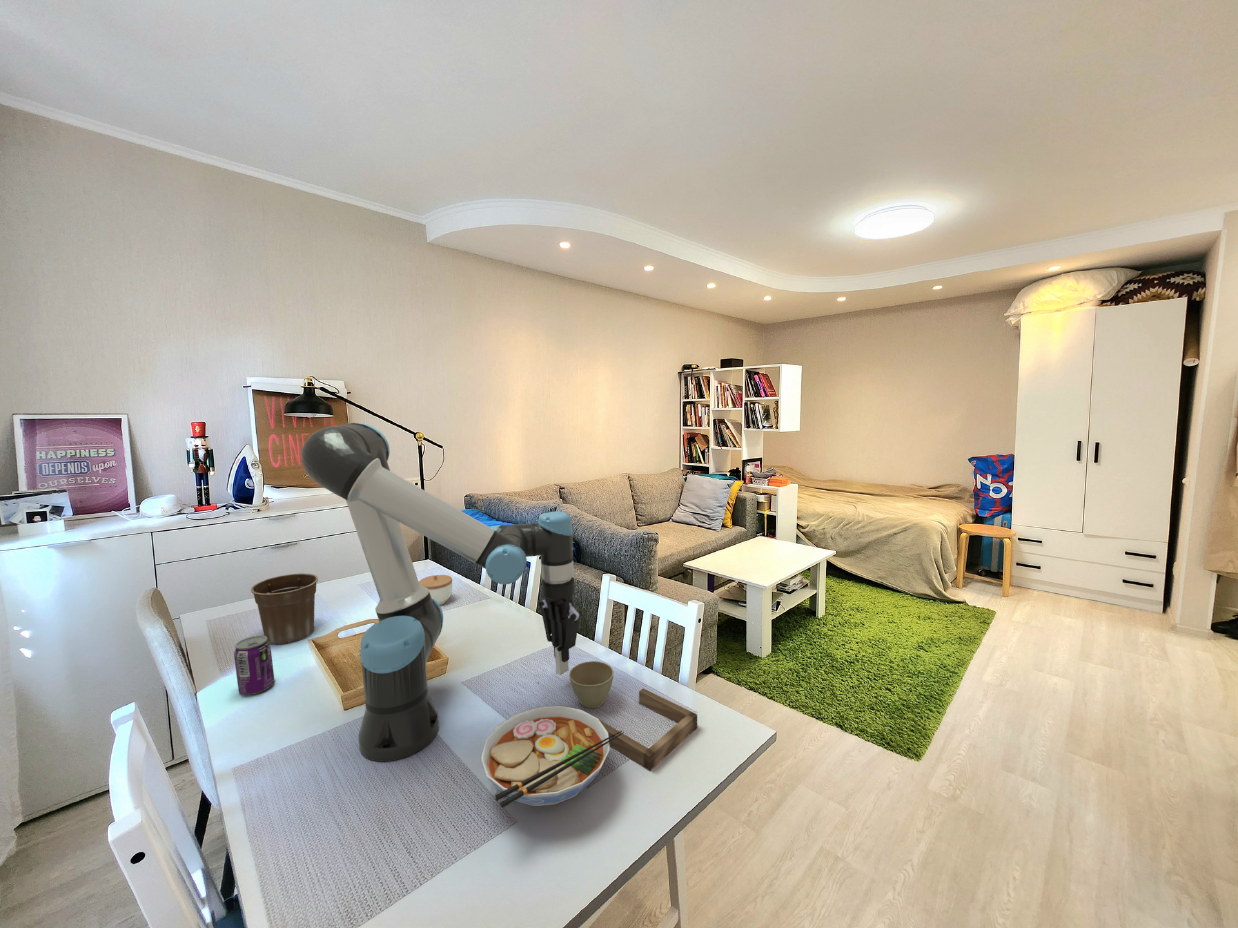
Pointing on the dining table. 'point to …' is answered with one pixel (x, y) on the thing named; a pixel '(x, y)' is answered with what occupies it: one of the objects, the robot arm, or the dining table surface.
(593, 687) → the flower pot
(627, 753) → the walnut bay
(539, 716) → the ramen bowl
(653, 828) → the dining table surface
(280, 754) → the dining table surface
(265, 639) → the beverage can
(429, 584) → the lidded jar
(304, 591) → the plant pot
